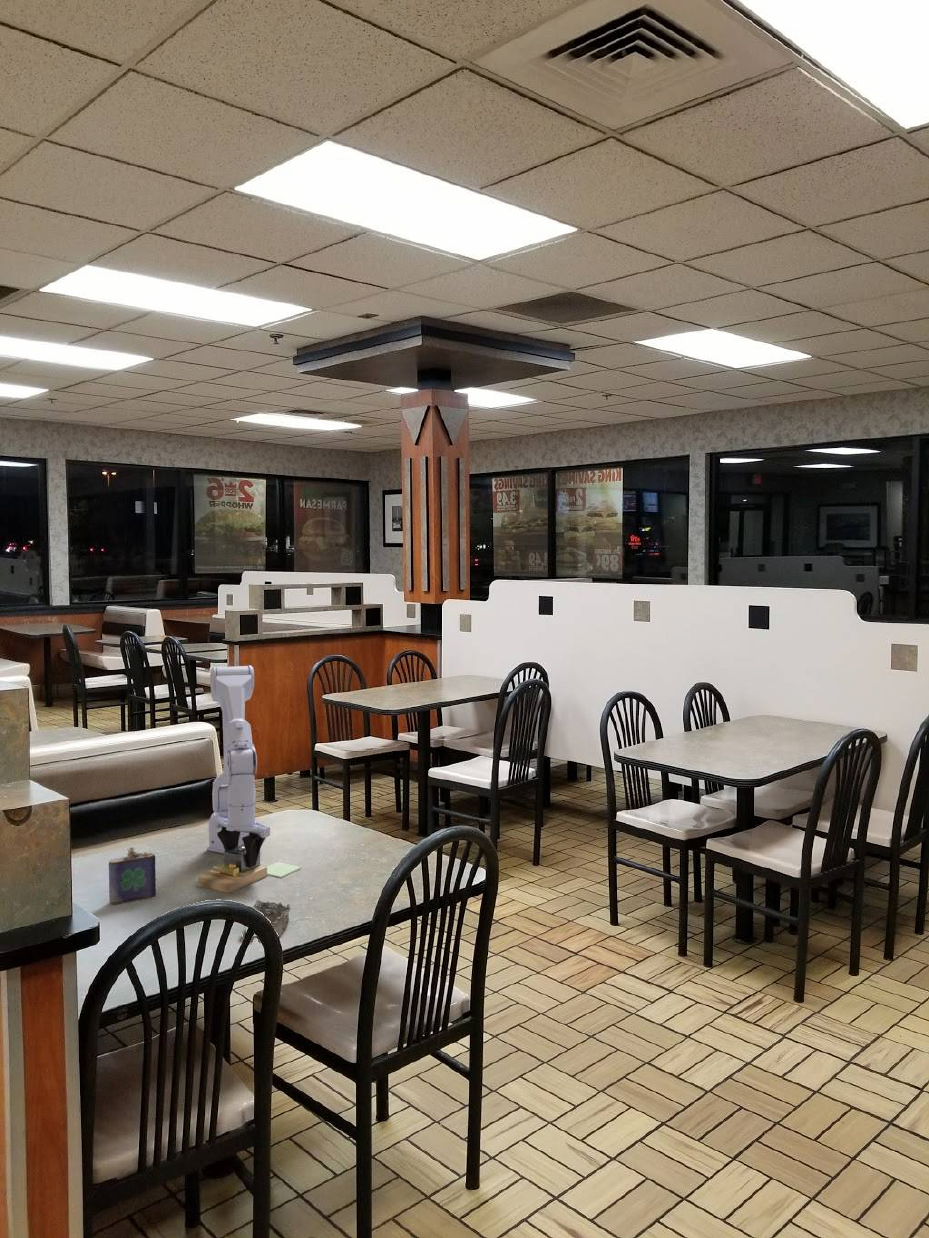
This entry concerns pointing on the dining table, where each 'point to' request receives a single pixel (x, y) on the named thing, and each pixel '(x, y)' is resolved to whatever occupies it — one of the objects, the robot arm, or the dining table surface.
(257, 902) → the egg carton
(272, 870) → the mat
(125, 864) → the flask
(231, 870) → the bolt
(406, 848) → the dining table surface
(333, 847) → the dining table surface
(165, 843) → the dining table surface
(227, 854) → the metal box with knob
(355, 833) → the dining table surface
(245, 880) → the wooden tray with rails
